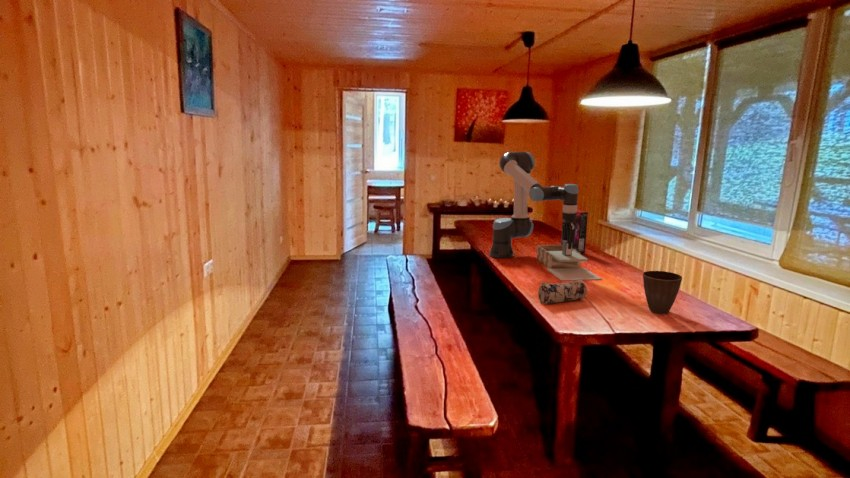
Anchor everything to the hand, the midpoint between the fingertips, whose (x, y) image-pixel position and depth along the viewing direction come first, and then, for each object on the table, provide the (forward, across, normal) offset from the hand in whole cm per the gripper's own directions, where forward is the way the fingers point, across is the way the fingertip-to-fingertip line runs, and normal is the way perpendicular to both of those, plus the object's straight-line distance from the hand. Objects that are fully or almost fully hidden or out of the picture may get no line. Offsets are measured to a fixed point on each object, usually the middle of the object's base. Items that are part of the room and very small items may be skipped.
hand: (566, 253), depth 269 cm
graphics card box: (+10, +44, -22) cm, 50 cm away
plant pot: (+9, -69, -14) cm, 71 cm away
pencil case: (+10, -52, +22) cm, 57 cm away
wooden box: (+10, +13, 0) cm, 16 cm away
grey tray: (+9, -10, 0) cm, 14 cm away
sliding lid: (+2, 0, 0) cm, 2 cm away
